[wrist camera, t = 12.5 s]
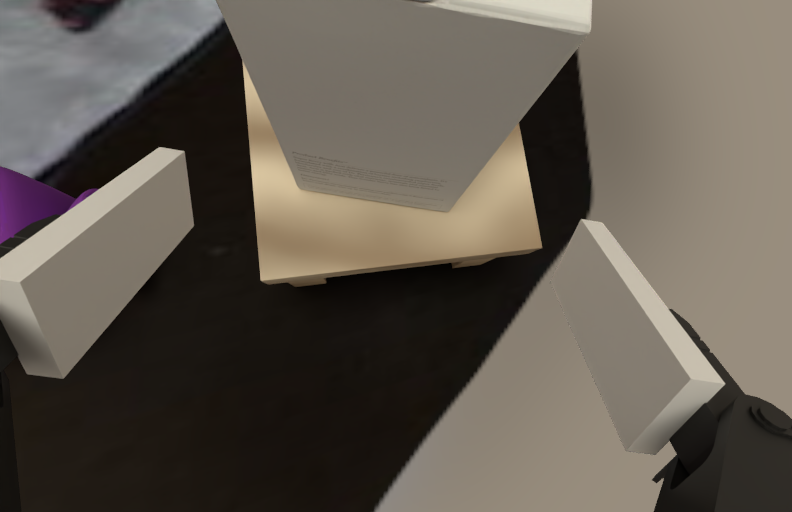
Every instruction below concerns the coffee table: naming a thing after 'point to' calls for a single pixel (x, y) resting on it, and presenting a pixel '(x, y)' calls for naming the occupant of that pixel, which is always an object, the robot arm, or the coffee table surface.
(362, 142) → the supplement box
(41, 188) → the toy camera
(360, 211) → the low wooden platform
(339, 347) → the coffee table surface
